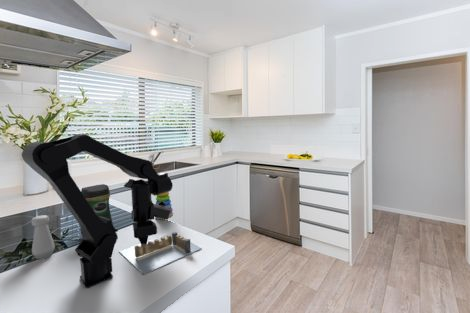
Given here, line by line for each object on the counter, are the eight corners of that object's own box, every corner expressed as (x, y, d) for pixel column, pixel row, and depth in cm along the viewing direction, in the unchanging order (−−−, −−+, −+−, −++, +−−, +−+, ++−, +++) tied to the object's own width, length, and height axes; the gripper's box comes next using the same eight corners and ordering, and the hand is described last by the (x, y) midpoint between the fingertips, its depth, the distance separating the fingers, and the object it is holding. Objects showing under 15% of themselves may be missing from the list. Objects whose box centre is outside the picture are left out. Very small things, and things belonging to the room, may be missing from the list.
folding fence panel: (170, 243, 84) (169, 234, 83) (172, 244, 83) (171, 235, 83) (135, 256, 76) (134, 246, 75) (136, 257, 75) (136, 247, 74)
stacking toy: (166, 212, 117) (164, 173, 114) (176, 216, 112) (175, 176, 109) (151, 217, 111) (149, 176, 108) (161, 221, 106) (160, 179, 103)
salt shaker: (36, 253, 79) (31, 214, 78) (57, 249, 82) (53, 212, 80) (29, 262, 74) (24, 221, 73) (52, 258, 76) (48, 218, 75)
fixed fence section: (187, 254, 78) (186, 242, 77) (171, 244, 84) (171, 233, 84) (191, 252, 79) (191, 240, 79) (176, 243, 86) (175, 231, 85)
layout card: (143, 275, 67) (143, 273, 67) (118, 252, 80) (118, 251, 80) (201, 249, 81) (201, 247, 81) (172, 232, 94) (172, 232, 94)
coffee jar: (107, 225, 102) (104, 181, 99) (116, 230, 97) (112, 184, 94) (81, 233, 94) (77, 186, 92) (89, 239, 89) (85, 189, 87)
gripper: (173, 204, 72) (175, 254, 73) (163, 189, 88) (165, 230, 90) (132, 209, 67) (135, 263, 69) (129, 193, 84) (132, 236, 86)
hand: (144, 246), depth 78 cm, fingers closed
